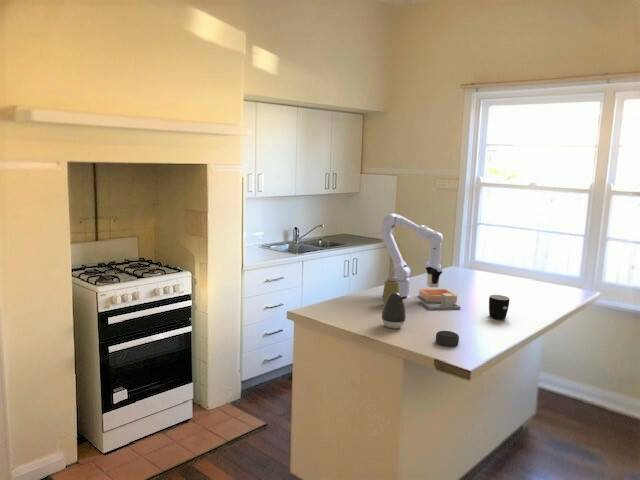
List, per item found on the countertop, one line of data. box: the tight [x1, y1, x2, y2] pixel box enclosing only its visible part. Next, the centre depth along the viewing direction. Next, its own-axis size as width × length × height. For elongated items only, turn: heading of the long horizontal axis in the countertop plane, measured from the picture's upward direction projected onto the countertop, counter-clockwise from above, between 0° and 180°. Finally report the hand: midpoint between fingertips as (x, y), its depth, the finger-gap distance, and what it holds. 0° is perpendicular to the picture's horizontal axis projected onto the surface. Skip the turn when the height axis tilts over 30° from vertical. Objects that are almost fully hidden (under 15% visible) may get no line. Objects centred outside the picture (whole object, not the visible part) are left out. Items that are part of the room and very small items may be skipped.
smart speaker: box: [435, 330, 460, 347], centre depth 213 cm, size 9×9×4 cm
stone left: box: [426, 274, 440, 288], centre depth 273 cm, size 4×4×6 cm
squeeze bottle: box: [382, 268, 399, 305], centre depth 262 cm, size 8×8×18 cm
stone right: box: [441, 293, 455, 307], centre depth 264 cm, size 4×4×6 cm
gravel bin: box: [418, 288, 458, 303], centre depth 278 cm, size 15×13×4 cm
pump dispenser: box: [381, 292, 408, 330], centre depth 229 cm, size 10×10×15 cm
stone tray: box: [419, 300, 461, 311], centre depth 263 cm, size 16×11×2 cm
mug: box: [488, 294, 511, 321], centre depth 251 cm, size 12×9×10 cm
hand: (432, 282), depth 274 cm, fingers closed on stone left, 4 cm apart
